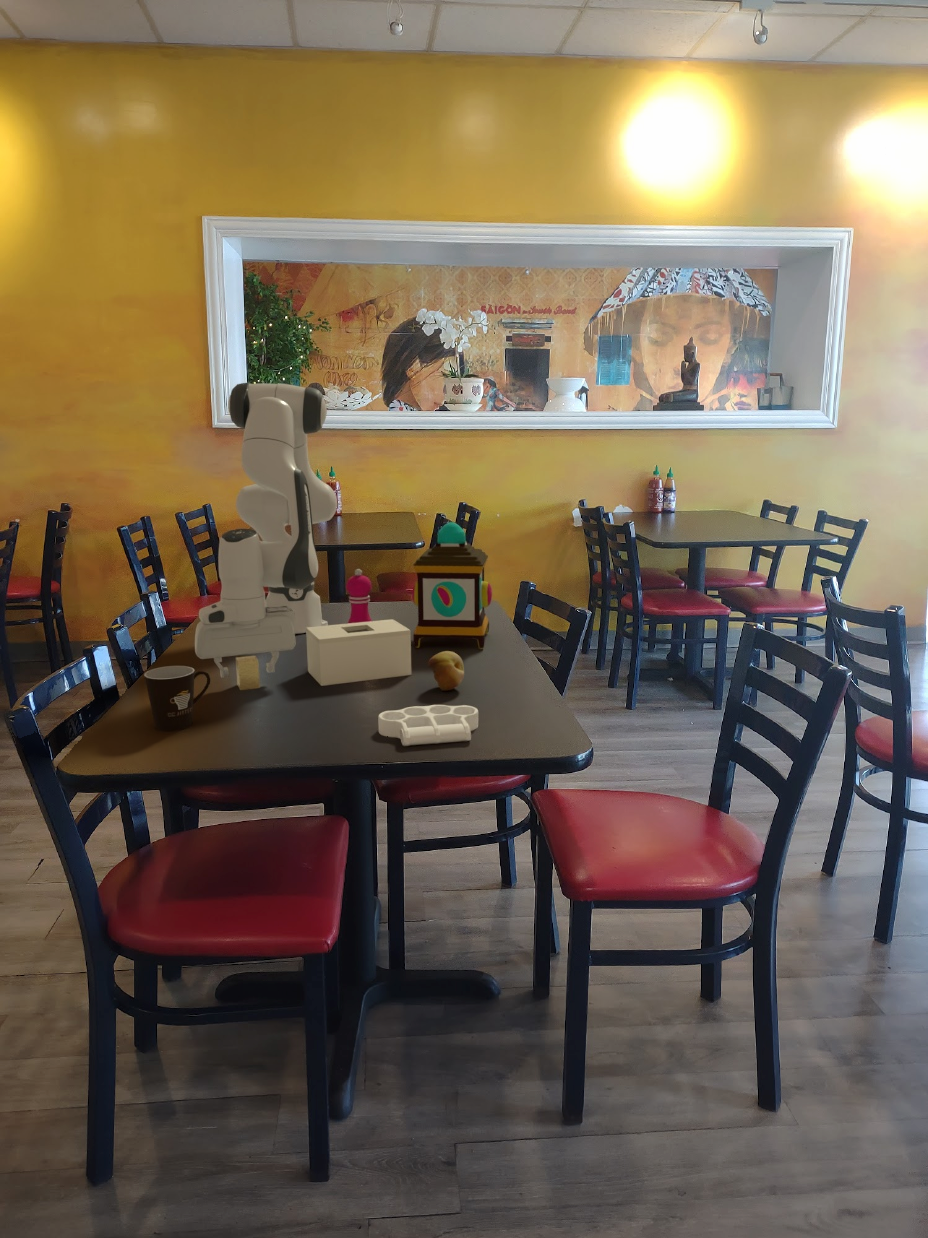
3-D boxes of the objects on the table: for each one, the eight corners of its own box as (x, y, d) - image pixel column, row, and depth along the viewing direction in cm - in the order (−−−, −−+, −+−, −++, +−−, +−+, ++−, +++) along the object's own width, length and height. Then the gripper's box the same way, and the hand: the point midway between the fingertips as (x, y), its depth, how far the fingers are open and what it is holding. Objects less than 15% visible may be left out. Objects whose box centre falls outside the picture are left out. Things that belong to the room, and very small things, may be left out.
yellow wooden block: (237, 685, 181) (235, 657, 179) (256, 682, 182) (254, 655, 181) (240, 690, 177) (238, 662, 176) (259, 688, 179) (258, 660, 177)
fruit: (440, 697, 171) (440, 658, 170) (420, 687, 178) (419, 650, 176) (472, 691, 175) (472, 653, 173) (451, 681, 182) (451, 645, 180)
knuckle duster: (385, 752, 144) (375, 724, 157) (489, 743, 147) (470, 716, 161) (384, 733, 143) (374, 706, 157) (489, 725, 146) (470, 699, 160)
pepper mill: (370, 654, 204) (368, 571, 200) (341, 653, 205) (338, 570, 201) (379, 647, 211) (377, 566, 207) (351, 646, 212) (348, 566, 208)
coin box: (308, 671, 190) (306, 627, 188) (393, 661, 198) (392, 619, 196) (321, 685, 180) (319, 639, 177) (411, 674, 187) (410, 630, 185)
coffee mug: (150, 736, 151) (145, 681, 148) (147, 721, 158) (142, 669, 156) (218, 726, 155) (214, 673, 153) (212, 712, 163) (208, 661, 161)
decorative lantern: (494, 632, 226) (494, 518, 219) (489, 651, 207) (489, 526, 200) (419, 631, 228) (417, 517, 221) (407, 649, 209) (404, 526, 202)
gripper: (291, 602, 183) (294, 665, 186) (191, 610, 175) (196, 676, 178) (297, 607, 177) (300, 672, 180) (194, 616, 169) (199, 684, 172)
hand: (247, 674), depth 179 cm, fingers open, 8 cm apart
